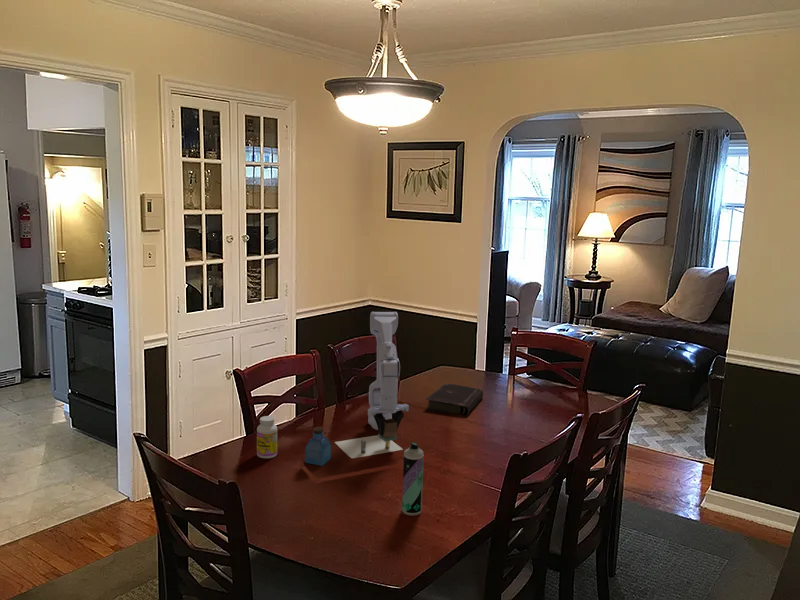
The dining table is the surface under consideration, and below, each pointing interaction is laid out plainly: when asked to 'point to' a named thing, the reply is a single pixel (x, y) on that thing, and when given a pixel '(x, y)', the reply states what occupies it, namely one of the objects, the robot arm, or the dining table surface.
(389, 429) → the walnut sleeve
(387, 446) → the brass pin
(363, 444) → the steel pin
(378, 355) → the robot arm
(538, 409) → the dining table surface
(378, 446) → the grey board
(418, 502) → the spray can
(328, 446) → the perfume bottle
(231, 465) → the dining table surface
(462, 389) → the diary
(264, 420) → the supplement bottle
